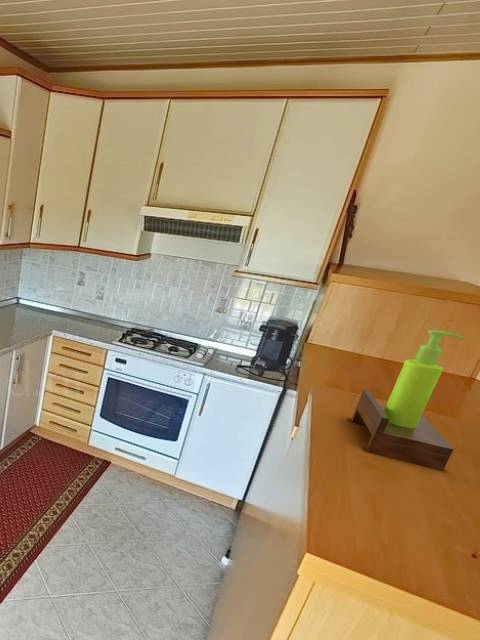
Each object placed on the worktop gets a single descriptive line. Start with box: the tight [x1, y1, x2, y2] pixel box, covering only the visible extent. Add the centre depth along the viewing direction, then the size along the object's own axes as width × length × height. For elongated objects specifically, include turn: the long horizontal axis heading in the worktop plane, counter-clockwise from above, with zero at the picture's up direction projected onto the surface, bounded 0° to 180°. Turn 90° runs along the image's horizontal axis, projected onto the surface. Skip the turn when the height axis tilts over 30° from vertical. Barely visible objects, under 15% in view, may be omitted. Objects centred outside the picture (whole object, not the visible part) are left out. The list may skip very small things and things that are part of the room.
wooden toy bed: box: [350, 389, 455, 472], centre depth 104 cm, size 12×20×8 cm, turn 151°
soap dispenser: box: [384, 329, 465, 428], centre depth 100 cm, size 6×7×20 cm
